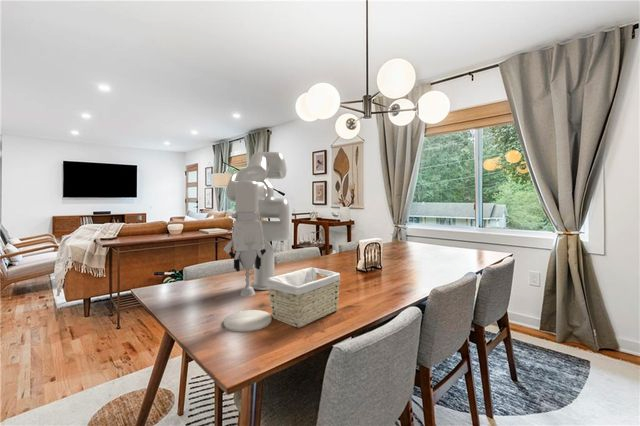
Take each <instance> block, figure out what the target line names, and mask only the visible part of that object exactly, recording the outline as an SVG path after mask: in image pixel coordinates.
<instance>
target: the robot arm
mask: <svg viewBox="0 0 640 426" xmlns="http://www.w3.org/2000/svg"><path fill="white" fill-rule="evenodd" d="M286 175H287V164H286V160H285V158H284V156H283V154H282V153H281V152H278V151H257V152H255V153H253V154H252V155H251V157H250V159H249V162H248V165H247V166H246V167H244V168H242V169H239V170H238V171H236V172H235V173H233V174H232V175H231V176H230V178H229V180H228V183H227V186H226V197H227V199H228V200H229V201H230V202H232V203H235V211H234V213H231V215H230V216H231V219H235V220H234V221H233V223H232V232H231V240H230V241H229V242H228V243H227V244H226V246H224V248H223V251H225V252H226V253H227V254H228V255H229V256H230V257H231V258H233V269H234V270H235V271H236V272H240V271H241V270H240V268H241V266H240V265H241V263H240V260H239V255H240V252H244V251H248V246H247V245H245V244H244V243H255V244H254V245H253V246H252V250H254V251H257V257H256V260H255V262H254V264H253V267H254V270H253V271H254V272H253V274H254V276H253V277H254V278H253V279H254V280H253V281H254V282H252V283H251V284H250V286H251V287H253V290H257V291H259V290H260V291H269V289H268V282H267V280H268V278H270V277H275V249H274V247H273V245H272V244H271V243H270V242H283V241H287V240H288V239H289V236H290V206H289V202H288V200H287V199H285V198H275V196H274V192H275V190H274V186H273V185H272V183H270V181H269V180H281V179H284V178H286ZM259 218H260V219H279V220H260V219H259ZM231 249H232V250H234V251H232V250H231Z"/></svg>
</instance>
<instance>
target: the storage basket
mask: <svg viewBox="0 0 640 426" xmlns="http://www.w3.org/2000/svg"><path fill="white" fill-rule="evenodd" d="M274 276H275V275H274ZM318 277H323V278H320V279H318ZM267 282H268V289H269V290H268V295H269V302H270V304H269V305H270V310H271V311H270V312H271V318H272V319H274V320H277V321H279V322H282V323H284V324H287V325H289V326H291V327H294V328H302V327H305V326H306V325H308V324H311V323H312V322H315V321H317V320H319V319H321V318H324V317H326V316H327V315H329V314H332V313H334V312H335V311H337V310H338V309H339V307H338V306H339V294H340V291H339V290H340V285H341V274H340V273H339V272H335V271H332V270H327V269H323V268H317V267H307V268H302V269H298V270H296V271H291V272H287V273H284V274H279V275H276V276H275V277H270V278H268V280H267Z"/></svg>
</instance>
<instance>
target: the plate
mask: <svg viewBox="0 0 640 426" xmlns="http://www.w3.org/2000/svg"><path fill="white" fill-rule="evenodd" d="M223 319H224V320H223V327H224V328H225V329H226V330H229V331H232V332H237V333H248V332H255V331H259V330H261V329H264V328H266V327H268V326H269V325H271V323H272V314H270V313H269V312H268V311H265V310H259V309H248V310H247V309H246V310H240V311H236V312H233V313H231V314H228V315H227V316H225V318H223Z"/></svg>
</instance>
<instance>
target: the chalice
mask: <svg viewBox="0 0 640 426" xmlns="http://www.w3.org/2000/svg"><path fill="white" fill-rule="evenodd" d="M244 244H245V245H247V246H248V251H244V252H240V255H239V257H238V258H239V260H240V265H241V266H242V268H243V269H244V270H245V274H244V275H245V279H244V281H245V282H246V283H245V286H243V288H242V289H241V291H240V296H242V297H251V296H254V295H256V291H255V289H253V287H251V284H250V281H251V279H250V276H251V274H250V269H252V268H253V267H254V262H255V260H256V257H257V251H254V250H252V246H253V245H254V244H255V243H244Z"/></svg>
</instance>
